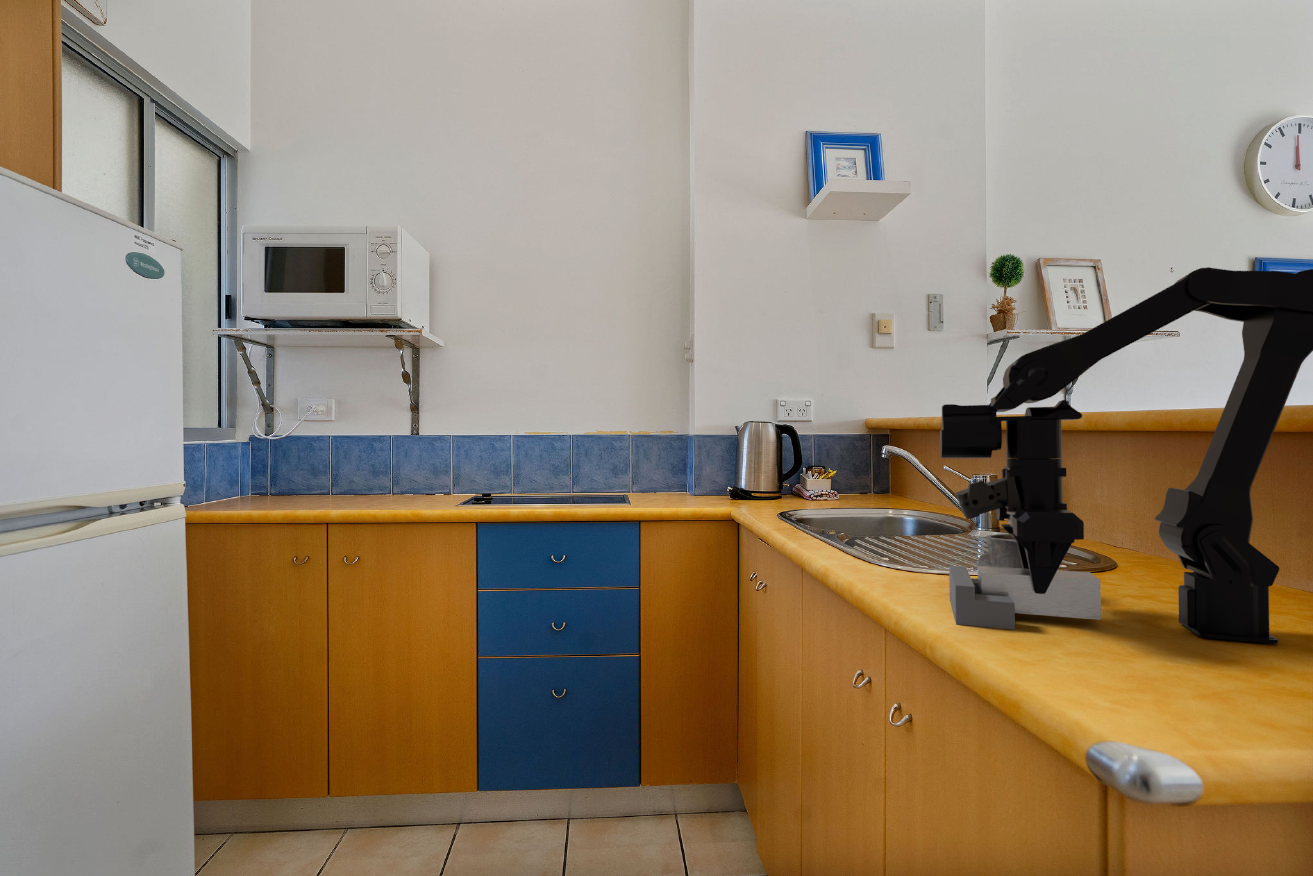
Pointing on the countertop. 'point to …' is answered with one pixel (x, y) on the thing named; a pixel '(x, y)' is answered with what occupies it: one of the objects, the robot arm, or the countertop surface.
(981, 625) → the grey u-shaped block
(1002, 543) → the grey tapered cup
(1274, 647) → the countertop surface
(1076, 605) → the long gray post
